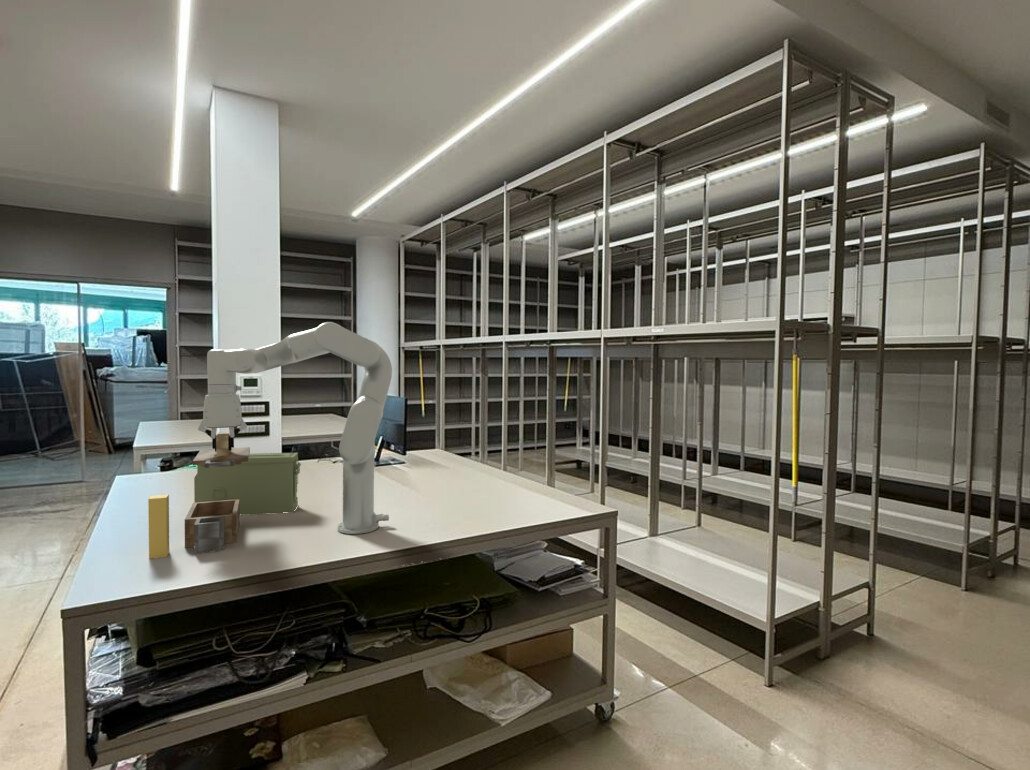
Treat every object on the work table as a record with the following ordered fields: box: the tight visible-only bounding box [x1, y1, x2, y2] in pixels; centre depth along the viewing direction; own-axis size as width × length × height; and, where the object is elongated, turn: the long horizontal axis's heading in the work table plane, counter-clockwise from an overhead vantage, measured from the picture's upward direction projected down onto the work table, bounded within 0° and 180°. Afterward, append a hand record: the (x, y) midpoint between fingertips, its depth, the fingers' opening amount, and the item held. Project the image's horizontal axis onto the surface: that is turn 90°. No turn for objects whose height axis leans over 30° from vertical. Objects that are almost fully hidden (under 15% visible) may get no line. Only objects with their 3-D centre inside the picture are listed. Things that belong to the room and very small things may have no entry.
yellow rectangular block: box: [147, 493, 170, 560], centre depth 146 cm, size 4×4×16 cm
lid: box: [192, 431, 251, 468], centre depth 161 cm, size 14×27×8 cm, turn 25°
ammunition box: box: [193, 452, 302, 515], centre depth 190 cm, size 10×33×20 cm, turn 103°
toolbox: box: [184, 499, 241, 554], centre depth 161 cm, size 13×26×8 cm, turn 25°
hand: (223, 450), depth 164 cm, fingers closed on lid, 3 cm apart
